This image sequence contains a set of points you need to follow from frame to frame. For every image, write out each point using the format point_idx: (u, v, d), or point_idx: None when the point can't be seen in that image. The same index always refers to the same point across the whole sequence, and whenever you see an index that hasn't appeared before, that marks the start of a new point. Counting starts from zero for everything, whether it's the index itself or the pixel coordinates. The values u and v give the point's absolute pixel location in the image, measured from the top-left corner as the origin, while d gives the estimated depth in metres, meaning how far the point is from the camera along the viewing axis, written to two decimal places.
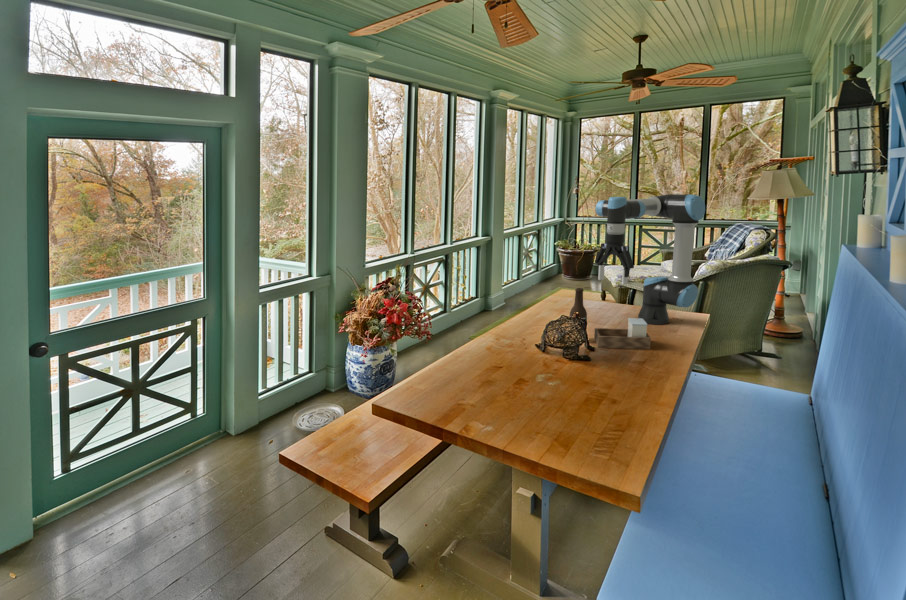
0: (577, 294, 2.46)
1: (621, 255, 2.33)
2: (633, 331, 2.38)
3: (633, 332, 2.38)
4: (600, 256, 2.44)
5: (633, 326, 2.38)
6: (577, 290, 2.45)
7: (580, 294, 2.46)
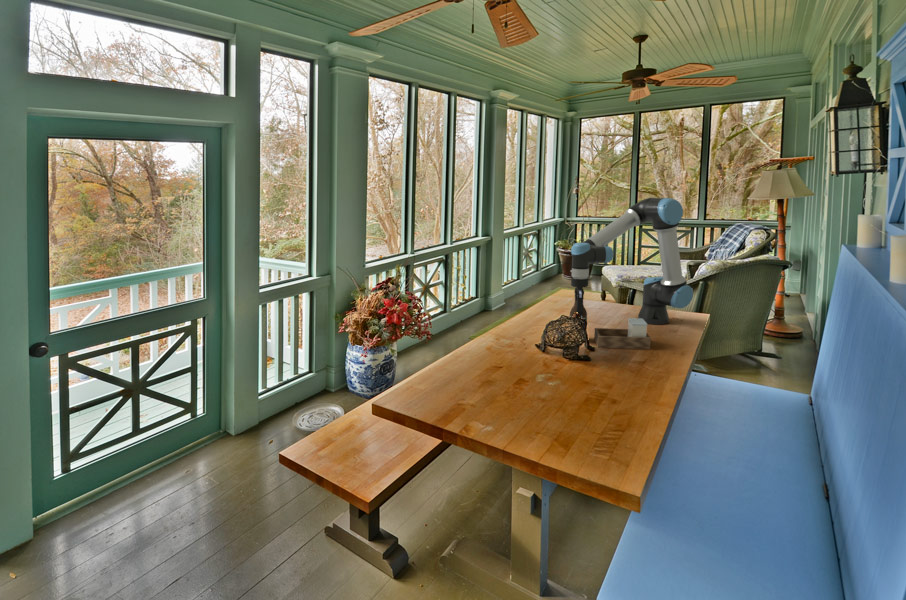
0: None
1: None
2: (633, 331, 2.38)
3: (633, 332, 2.38)
4: None
5: (633, 326, 2.38)
6: None
7: None
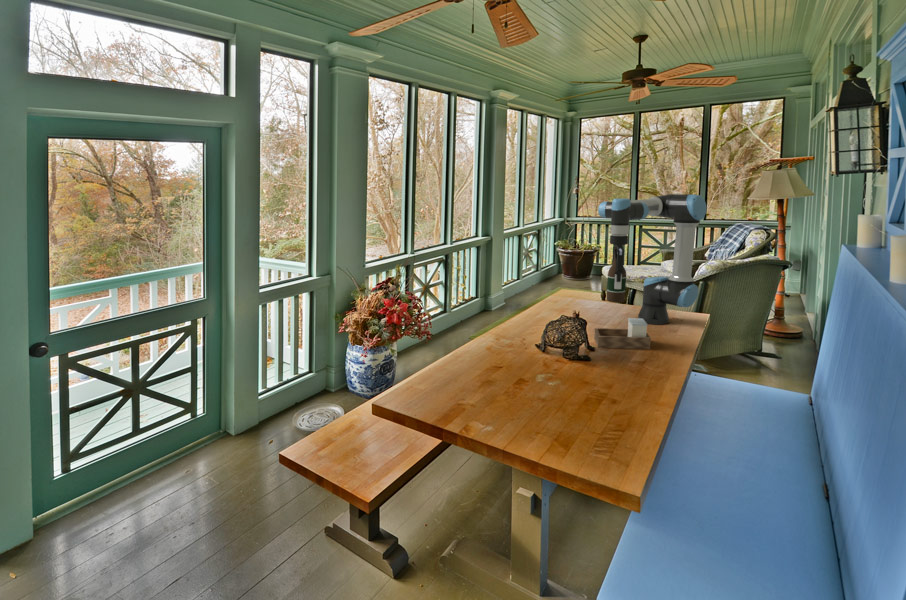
0: None
1: None
2: (633, 331, 2.38)
3: (633, 332, 2.38)
4: None
5: (633, 326, 2.38)
6: None
7: None
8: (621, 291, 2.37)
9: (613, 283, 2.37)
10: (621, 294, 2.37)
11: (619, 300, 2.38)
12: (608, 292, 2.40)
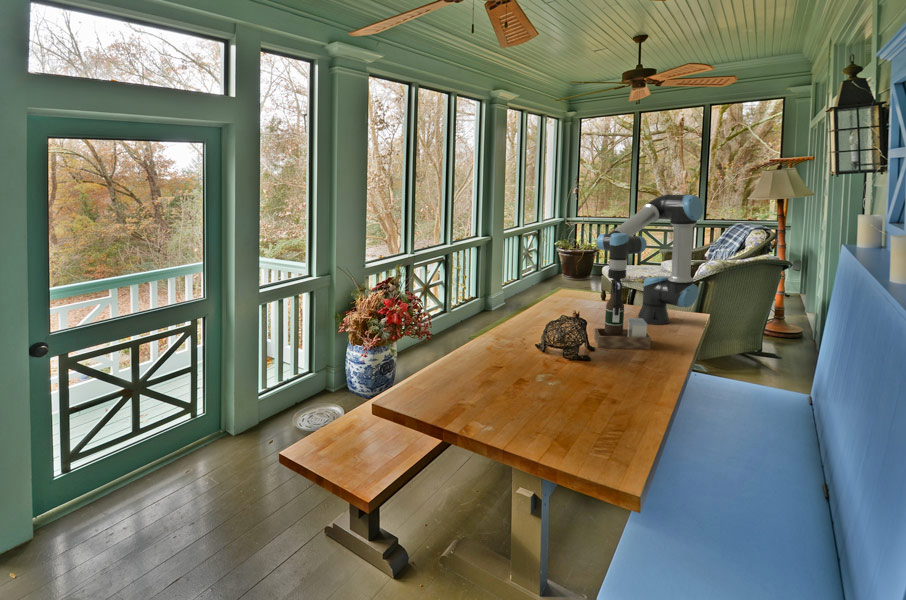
0: None
1: None
2: (633, 331, 2.38)
3: (633, 332, 2.38)
4: None
5: (633, 326, 2.38)
6: None
7: None
8: (619, 324, 2.40)
9: (611, 316, 2.40)
10: (619, 327, 2.40)
11: (617, 333, 2.41)
12: (606, 325, 2.43)
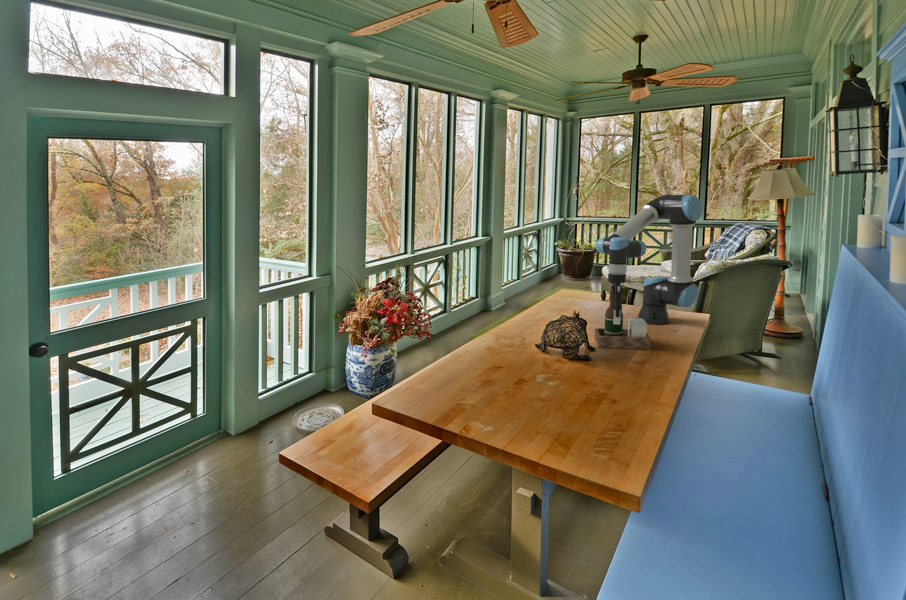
0: None
1: None
2: (633, 331, 2.38)
3: (633, 332, 2.38)
4: None
5: (633, 326, 2.38)
6: None
7: None
8: (618, 332, 2.41)
9: (610, 325, 2.41)
10: (618, 335, 2.41)
11: None
12: (606, 333, 2.44)
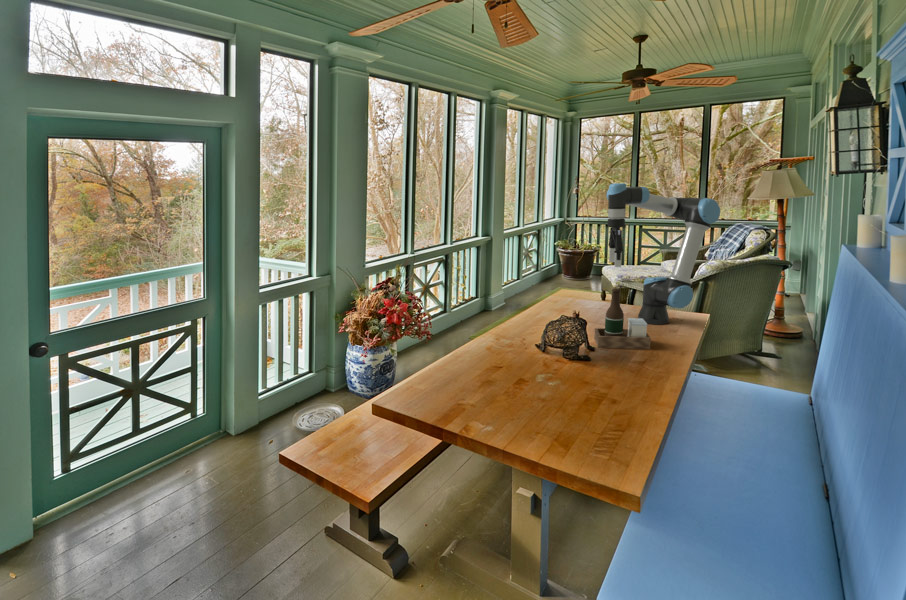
0: (614, 294, 2.40)
1: None
2: (633, 331, 2.38)
3: (633, 332, 2.38)
4: None
5: (633, 326, 2.38)
6: (614, 290, 2.39)
7: (617, 294, 2.39)
8: (619, 332, 2.41)
9: (611, 325, 2.41)
10: (619, 335, 2.41)
11: None
12: (606, 333, 2.44)
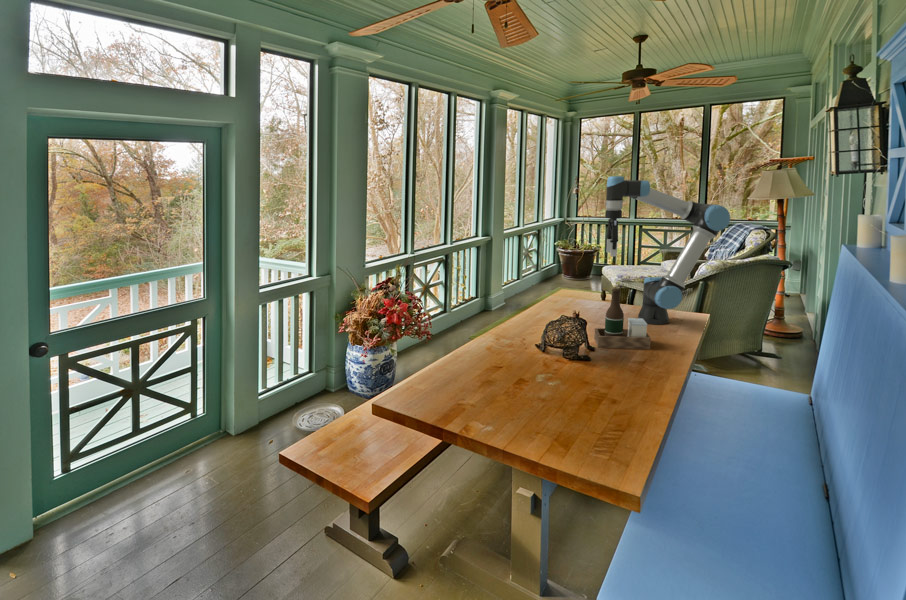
0: (614, 294, 2.40)
1: None
2: (633, 331, 2.38)
3: (633, 332, 2.38)
4: None
5: (633, 326, 2.38)
6: (614, 290, 2.39)
7: (617, 294, 2.39)
8: (619, 332, 2.41)
9: (611, 325, 2.41)
10: (619, 335, 2.41)
11: None
12: (606, 333, 2.44)
